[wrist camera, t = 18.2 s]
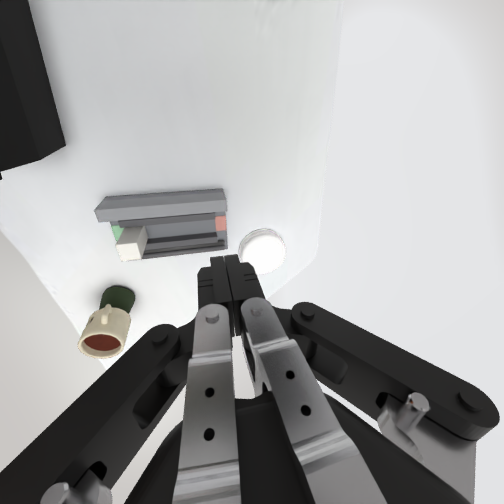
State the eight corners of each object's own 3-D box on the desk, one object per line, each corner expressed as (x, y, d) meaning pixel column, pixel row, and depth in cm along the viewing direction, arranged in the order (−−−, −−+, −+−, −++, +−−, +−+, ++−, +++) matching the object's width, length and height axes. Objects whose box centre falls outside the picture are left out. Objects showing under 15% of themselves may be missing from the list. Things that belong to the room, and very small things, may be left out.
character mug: (100, 274, 48) (74, 324, 37) (138, 277, 50) (124, 324, 40) (102, 312, 53) (79, 366, 43) (137, 313, 56) (124, 365, 45)
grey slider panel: (105, 196, 41) (93, 210, 36) (222, 188, 44) (226, 199, 39) (126, 255, 47) (118, 273, 42) (226, 244, 51) (230, 259, 46)
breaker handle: (126, 225, 42) (115, 245, 36) (144, 223, 42) (136, 242, 36) (130, 239, 43) (121, 261, 37) (148, 238, 44) (141, 259, 38)
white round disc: (263, 219, 50) (267, 226, 47) (290, 246, 55) (295, 254, 52) (229, 250, 52) (231, 259, 49) (258, 273, 57) (262, 282, 54)
